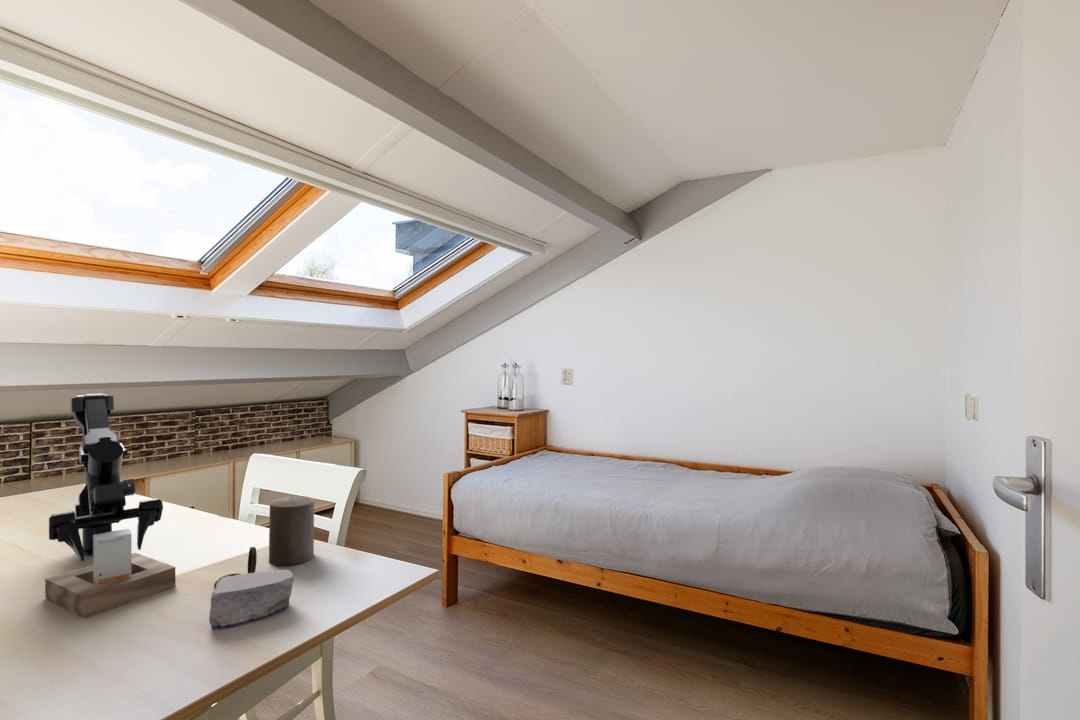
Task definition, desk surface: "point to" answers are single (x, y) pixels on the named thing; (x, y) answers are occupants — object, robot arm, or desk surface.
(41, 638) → the desk surface
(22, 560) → the desk surface
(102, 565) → the skincare box
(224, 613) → the decorative stone
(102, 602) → the holder block
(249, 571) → the dark brown curved piece
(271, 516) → the pillar candle
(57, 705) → the desk surface
